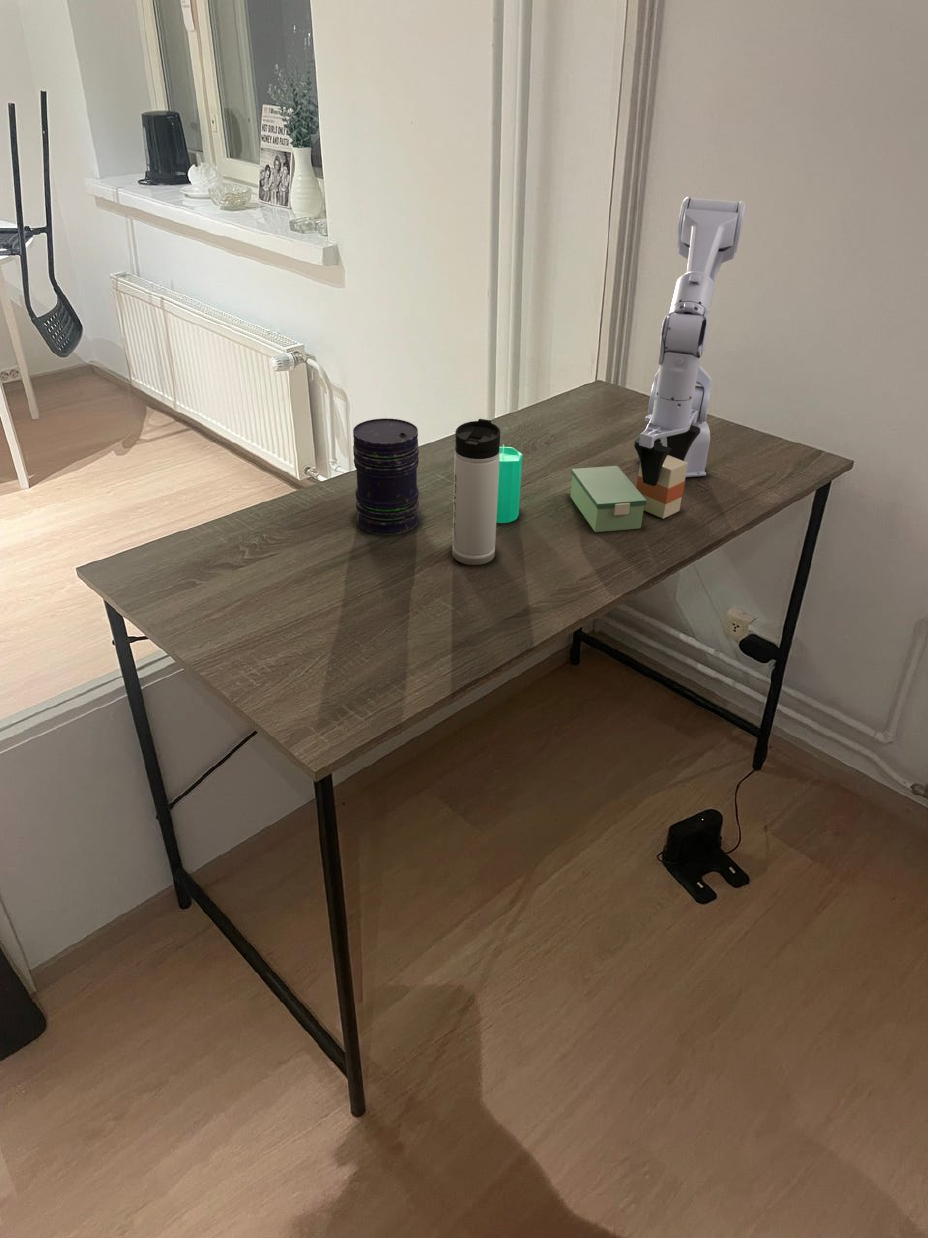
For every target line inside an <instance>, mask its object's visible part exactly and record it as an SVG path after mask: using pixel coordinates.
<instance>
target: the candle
mask: <svg viewBox="0 0 928 1238" xmlns="http://www.w3.org/2000/svg"><path fill="white" fill-rule="evenodd" d="M499 456H500V458H499V478H498V498H497V518H496V524H506V523H507V524H508V523H511V522H515V521H516V520H517V519H518V517H519V515H520V504H521V503H520V502H521V500H520V499H521V486H522V484H521V483H522V469H523V453H521V452H520V451H519V450H518V449H516V448H514V447H512V446H505V444H504V443H503V444H502V446H500V455H499Z"/></svg>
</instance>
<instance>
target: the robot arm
mask: <svg viewBox="0 0 928 1238" xmlns="http://www.w3.org/2000/svg"><path fill="white" fill-rule="evenodd" d="M746 207H747V205H746V203H745V201H744V200H739V201H735V200H722V199H712V198H711V199H709V198H699V197H698V198H697V197H691V196H686V197H685V198H684V199H683V200H682V203H681V205H680V211H679V216H678V223H677V232H676V233H677V248H678V254H679V255H680V256H682V257H683V258H684V259H686V260H688V261H687V268H686V272H685V273H683V274H682V275H680V276H679V277H678V278H677V280H676V282H675V287H674V290H673V294H672V300H671V304H670V308H669V311H668V315H665V316H664V318H663V321H662V324H661V330H660V334H659V335H660V336H659V357H658V365H659V367H658V370H657V372H656V373H655V375H654V378H653V379H654V380H653V383H652V386H651V390H650V395H649V401H648V407H647V413H648V415H646V416H645V418H644V421H645V422H646V423H647V425H646V427H645V429H644V430H643V432H641V433H640V436H639V437H638V438H635V439H634V443H633V447H634V449H635V450H636V452H637V455H638V458H639V464H640V463H641V470H642V478H643V483H645V484H648V485H651V486H655V485H656V484H657V482H658V480H659V476H660V473H661V469H662V466H663V463H664V461H665V459H666V457H667V455H669V456H672V457H674V458H677V459H679V460H682V461H684V462H687V463H688V465H687V471H686V477H685V478H695V477H706V476H707V472H705V470H706V466H707V465H706V464H707V461H708V460H707V459H708V454H709V449H710V444H711V430H710V427H709V425H708V422H707V416H708V411H709V408H710V407H709V406H710V401H711V395H712V387H713V380H712V376H711V374H709V373H708V371H706V370H705V368H703V367H702V366H701V364H700V362H701V357H702V356H703V355H704V352H705V349H706V346H707V341H708V335H709V329H710V311H711V306H712V301H713V296H714V292H715V282H716V278H717V275H718V273H719V271H720V269H721V267H722V265H723V264H724V263H726V262H729V261H731V260H733V259H735V255H736V254H737V251H738V248H739V244H740V243H739V242H740V241H741V236H742V230H743V225H744V219H745V215H746V209H747V208H746Z"/></svg>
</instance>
